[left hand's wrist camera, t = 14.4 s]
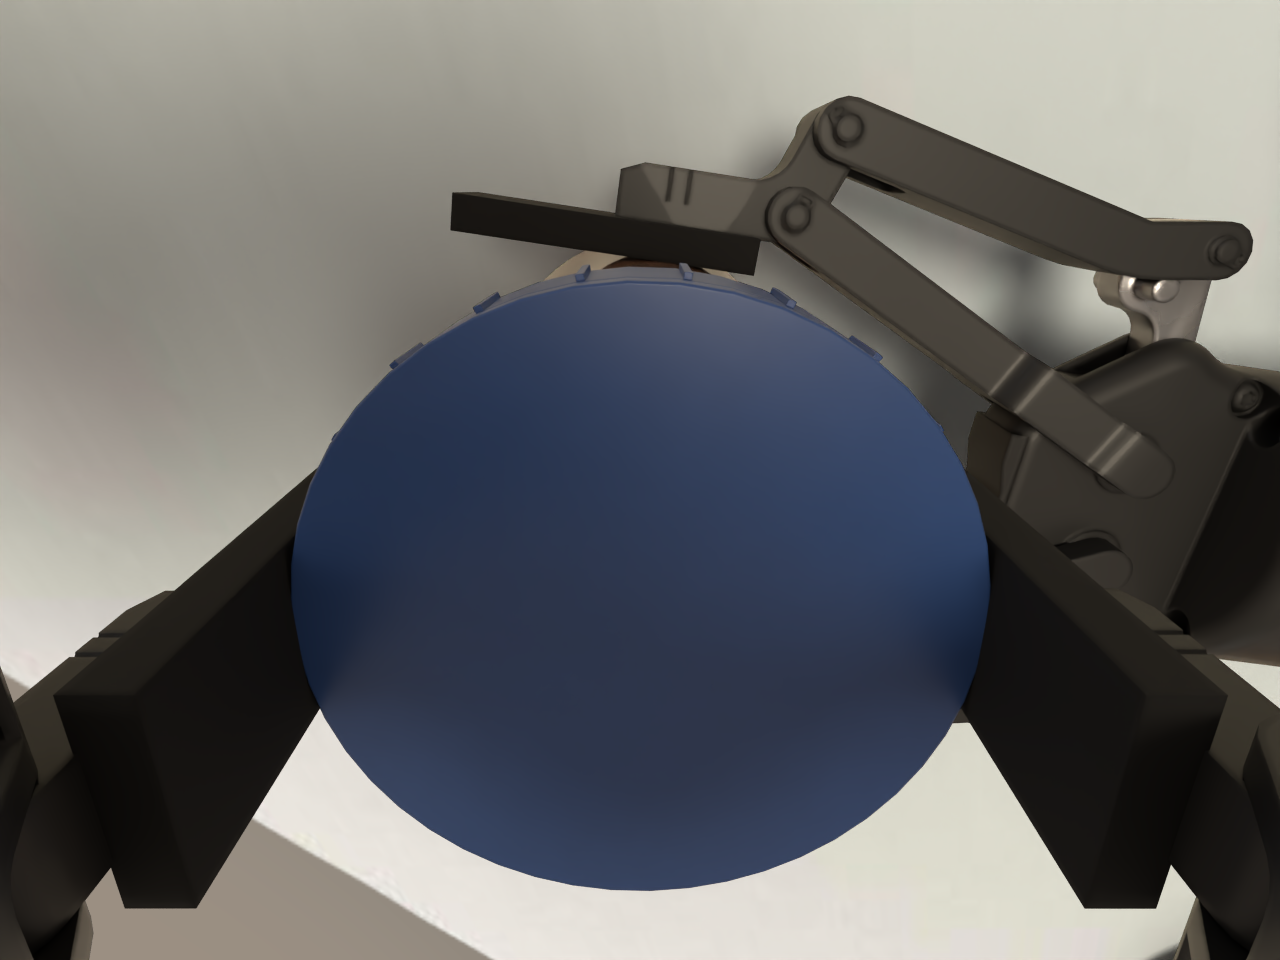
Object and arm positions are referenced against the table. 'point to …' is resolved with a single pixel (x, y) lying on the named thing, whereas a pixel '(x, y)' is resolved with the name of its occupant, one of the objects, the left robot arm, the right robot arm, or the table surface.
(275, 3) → the table surface
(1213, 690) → the left robot arm
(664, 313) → the lid
